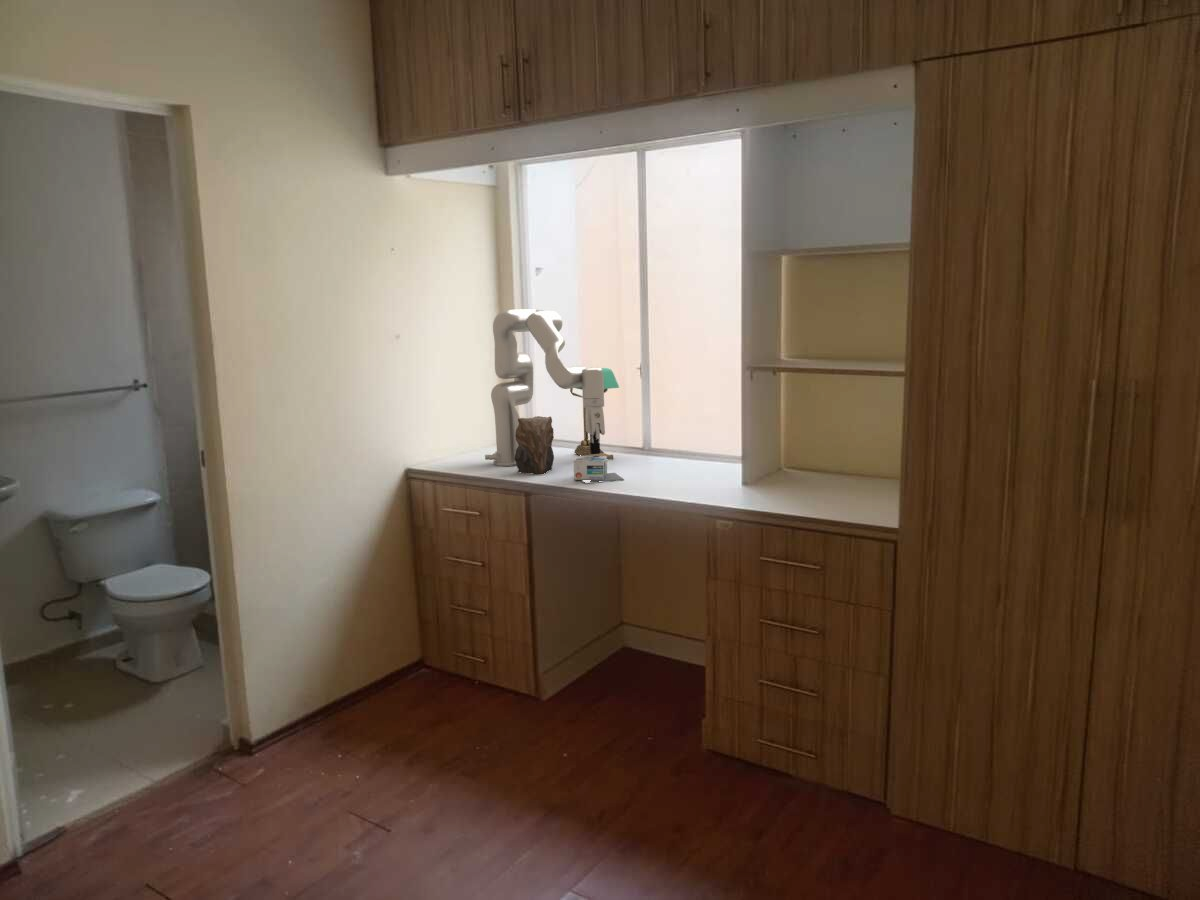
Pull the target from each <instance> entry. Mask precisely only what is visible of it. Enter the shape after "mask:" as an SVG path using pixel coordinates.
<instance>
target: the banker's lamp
mask: <svg viewBox="0 0 1200 900" xmlns="http://www.w3.org/2000/svg"><path fill="white" fill-rule="evenodd" d="M600 368H601V369H602V370H603V382H604V394H605V393H607V392H608V389H618V388H620V386H619V384H618V381H617V379H616V376H615V373H614V371H613V370H612V369H611V368H607V367H600ZM576 389H578V390H581V391H582V387H578V388H576ZM573 390H574V388H570V393H571V395H572V396H574V397H578V398H582V399H583V395H580V394H578V393H575V392H573ZM582 410H583V411H582V413H583V414H582V415H583V440H580V444H578V445H577V446H576V448H575V449H574V454H575V453H576V454H578V455H577V456H579V455H581V456H607V459H611V460H614V454H608V453H606V452H604V451H603V450H602V449H601V448H600V454H591V453H590V443H592V442H590V439H589V433H588V432H587V431H586V412H585V411H586V408H584V407H583V406H582ZM576 454H575V455H576Z"/></svg>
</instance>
